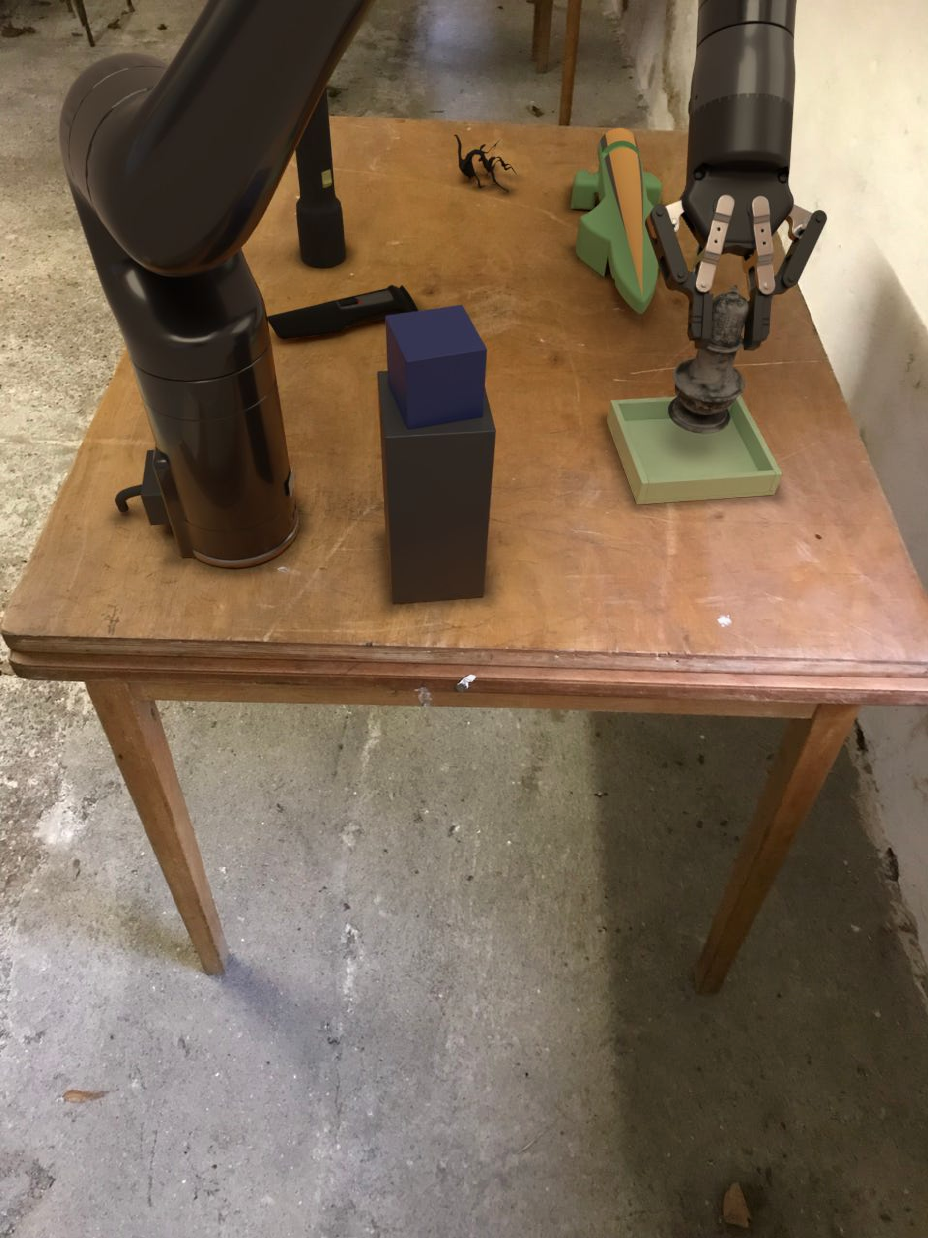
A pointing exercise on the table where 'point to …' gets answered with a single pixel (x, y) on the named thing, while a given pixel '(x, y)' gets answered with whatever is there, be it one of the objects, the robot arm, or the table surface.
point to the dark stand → (435, 502)
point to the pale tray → (690, 454)
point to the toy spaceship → (619, 217)
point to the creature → (467, 164)
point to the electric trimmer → (342, 313)
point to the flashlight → (318, 194)
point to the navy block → (435, 366)
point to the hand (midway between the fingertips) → (727, 346)
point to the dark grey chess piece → (712, 371)
